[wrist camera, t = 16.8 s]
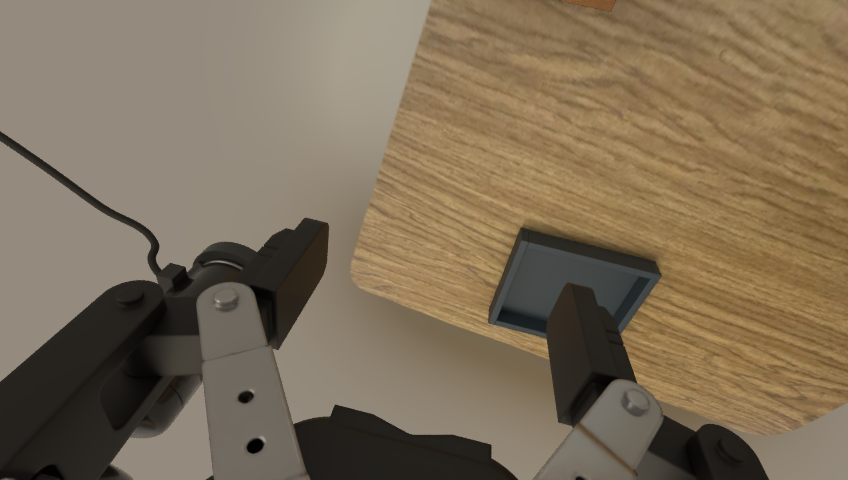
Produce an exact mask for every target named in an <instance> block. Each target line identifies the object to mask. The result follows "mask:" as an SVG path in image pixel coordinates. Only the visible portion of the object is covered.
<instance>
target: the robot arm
mask: <svg viewBox="0 0 848 480" xmlns="http://www.w3.org/2000/svg"><path fill="white" fill-rule="evenodd" d="M0 141H1V142H3V143H4V144H6V145H7V146H9V147H10V148H11V149H13V150H15V151H16V152H17V153H19V154H20V155H22V156H24V157H25V158H26V159H28V160H29V161H31V162H32V163H33V164H35V165H36V166H38V167H39V168H41V169H42V170H44V171H45V172H47V173H48V174H49V175H51V176H52V177H54V178H55V179H56V180H58V181H59V182H60V183H62V184H63V185H65V186H66V187H67V188H69V189H70V190H71V191H73V192H74V193H76V194H77V195H79V196H80V197H81V198H82V199H84V200H85V201H87V202H88V203H90V204H91V205H93V206H94V207H95V208H97V209H98V210H100V211H101V212H103V213H105V214H106V215H108V216H110V217H112V218H114V219H116V220H119V221H120V222H123V223H125V224H127V225H129V226H131V227H133V228H135V229H136V230H138V231H139V232H141V233H142V234H143V235H144V236H145V237H146V238H147V239H148V240H149V241H150V243H151V249H150V252H149V254H148V264H149V266H150V268H151V270H152V271H153V273H154V274H155V275H156V277H157V280H158V284H157V283H154V282H151V281H145V280H136V281H129V282H125V283H121V284H119V285H116V286H114V287H112V288H110V289H108V290H107V291H106V292H104V293H103V294H102V295H101V296H100V297H98V298H97V299H96V300H95V301H94V302H93V303H91V304H90V305H89V306H88V307H87V308H86V309H84V310H83V311H82V312H81V313H80V314H79V315H77V317H75V318H74V319H73V320H72V321H71V322H69V323H68V324H67V325H66V326H65V327H64V328H62V329H61V330H60V331H59V332H58V333H57V334H55V335H54V336H53V337H52V338H51V339H50V340H48V341H47V342H46V343H45V344H44V345H43V346H41V347H40V348H39V349H38V350H37V351H36V352H35V353H33V354H32V355H31V356H30V357H29V358H28V359H26V361H24V362H23V363H22V364H21V365H20V366H18V367H17V368H16V369H15V370H14V371H12V372H11V373H10V374H9V375H8V376H7V377H6V378H4V379H3V380H2V381H1V382H0V480H133V478H132V477H131V476H129V475H128V474H127V473H126V472H124V471H123V470H121V469H119V468H118V467H116V466H114V465H112V464H110V463H111V462H112V460H113V459H114V458H115V456H116V455H117V453H118V452H119V451H120V449H121V448H122V447H123V445H124V444H125V443H126V441H127V440H128V439H129V437H131V438H151V437H155V436H158V435H160V434H162V433H163V432H164V431H166V430H167V429H168V428H169V426H170V425H171V424H172V423H173V422H174V420H175V419H176V417H177V416H178V415H179V413H180V412H181V411H182V409H183V408H184V407H185V405H186V404H187V403H188V401H189V400H190V399H191V397H192V396H193V395H194V393H195V392H196V391H197V389H198V388H199V386H200V385H201V384H202V382H203V384H204V393H205V403H206V412H207V421H208V430H209V440H210V449H211V459H212V467H213V476H211V477H209V478H208V479H206V480H518V479H517V478H516V477H515V476H514V475H513V474H512V473H511V472H510V471H509V470H508V469H506V468H505V467H504V466H502V465H501V464H500V463H498V462H496V461H495V460H493V459H491V445H490V444H486V443H482V442H479V441H475V440H471V439H467V438H463V437H459V436H455V435H412V434H409V433H406V432H405V431H403V430H401V429H399V428H397V427H395V426H394V425H392V424H390V423H388V422H386V421H384V420H383V419H381V418H379V417H377V416H375V415H373V414H370V413H366V412H362V411H358V410H354V409H350V408H346V407H343V406H338V405H335V406H334V408H333V411H332V414H331V416H330V417H318V418H312V419H308V420H303V421H301V422H298V423H295V424H293V422H292V419H291V415H290V411H289V407H288V404H287V400H286V397H285V393H284V389H283V385H282V382H281V378H280V374H279V371H278V367H277V363H276V360H275V357H274V352H273V349H276V350H279V348H280V346H281V345H282V343H283V341H284V340H285V338H286V336H287V335H288V333H289V331H290V330H291V328H292V326H293V325H294V323H295V321H296V320H297V318H298V316H299V315H300V313H301V311H302V310H303V308H304V306H305V305H306V303H307V301H308V299H309V298H310V296H311V295H312V293H313V291H314V290H315V288H316V286H317V285H318V283H319V281H320V280H321V278H322V276H323V274H324V271H325V268H326V264H327V253H328V236H329V225H328V223H325V222H321V221H318V220H313V219H309V218H304V219H303V220H302V221H301V223H300V224H299V225H298V227H297V228H296V229H295V230H291V229H287V228H286V229H284V230H282V231H280V232H278V233H276V234H274V235H272V236H271V238H270V239H269V240H268V241H267V242H266V243H265V244H264V247H262V248H261V249H260V250H259V251H258V252H257V255H256V254H255V255H254V256H253V258H252V259H251V260H250V261H249V262H248V263H247V264H246V265H245V267H244V266H243V265H241V264H239V263H237V262H234V261H231V260H227V259H212V260H209V261H207V262H203V261H199V262H198V263H197V264H195V265H194V266H193V267H192V268H191V269H190V270H189V271H188V272H186V268H185V267H184V266H180V265H176V264H173V263H170V264H169V265H167V266H166V267H165V268H164V269H163V270H161V269H160V268H159V266H158V264H157V262H156V255H157V253H158V251H159V243H158V241H157V239H156V237H155V236H154V235H153V234H152V232H151V231H150V230H149V229H147V228H146V227H145V226H143V225H142V224H140V223H138V222H137V221H135V220H133V219H130V218H129V217H126V216H124V215H122V214H120V213H118V212H116V211H114V210H112V209H110V208H109V207H107V206H105V205H104V204H102V203H101V202H100V201H98V200H97V199H95V198H94V197H93V196H91V195H90V194H88V193H87V192H86V191H84V190H83V189H81V188H80V187H79V186H78V185H76V184H75V183H73V182H72V181H71V180H69V179H68V178H67V177H65V176H64V175H63V174H61V173H60V172H58V171H57V170H56V169H54V168H53V167H51V166H50V165H49V164H47V163H46V162H44V161H43V160H41V159H40V158H39V157H37V156H36V155H34V154H33V153H31V152H30V151H28V150H27V149H26V148H24V147H23V146H21V145H20V144H18V143H17V142H15V141H14V140H12V139H11V138H9V137H8V136H6V135H5V134H3V133H2V132H0ZM619 334H620V332H619V329H618V327H617V324H616V321H615V319H614V318H613V317H612V315H611V314H610V313H609V312H608V310H607V309H606V308H605V307H603V306H599V305H598V304H597V301H596V297H595V294H594V291H593V289H592V288H590V287H586V286H582V285H577V284H573V283H569V282H568V283H566V284H565V286H564V288H563V289H562V291H561V293H560V295H559V297H558V299H557V301H556V303H555V305H554V307H553V309H552V311H551V313H550V315H549V318H548V321H547V326H546V336H547V344H548V351H549V358H550V365H551V373H552V380H553V387H554V395H555V402H556V409H557V417H558V422H559V423H563V424H567V425H571V426H572V427H573V429H572V431H571V432H570V433H569V434H568V436H567V437H566V438H565V439H564V441H563V442H562V443H561V444H560V446H559V447H558V448H557V449H556V451H555V452H554V453H553V454H552V456H551V457H550V458H549V459H548V461H547V462H546V463H545V464H544V466H543V467H542V468H541V469H540V471H539V472H538V473H537V475H536V476H535V477H534V478H533V480H769V479H768V477H767V475H766V473H765V471H764V469H763V467H762V465H761V463H760V461H759V459H758V457H757V455H756V454H755V453H754V451H753V450H752V449H751V448H750V446H749V445H748V444H747V443H746V442H745V441H744V440H742V439H741V438H740V437H739V436H737V435H736V434H735V433H733V432H732V431H730V430H728V429H726V428H724V427H722V426H719V425H715V424H706V425H703V426H702V427H701V428H700V429H699V430H698V431H696V432H695V431H693V430H691V429H689V428H687V427H686V426H683V425H682V424H680V423H678V422H676V421H674V420H672V419H670V418H668V417H667V416H665V415H663V411H662V408H661V406H660V404H659V403H658V401H657V400H656V399H655V397H654V396H653V395H652V394H651V393H650V392H649V391H648V390H646V389H645V388H644V387H642V386H641V385H639V384H637V381H636V378H635V375H634V372H633V370H632V367H631V364H630V361H629V358H628V355H627V352H626V350H625V347H624V346H623V341H622V338H621V336H620V335H619Z"/></svg>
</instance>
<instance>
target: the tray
mask: <svg viewBox="0 0 848 480" xmlns="http://www.w3.org/2000/svg"><path fill="white" fill-rule="evenodd" d="M661 276H662V275H661V273H660V271H659V269H658V267H657V265H656V263H655V262H654V261H650V260H646V259H642V258H638V257H634V256H630V255H626V254H622V253H618V252H614V251H610V250H606V249H602V248H598V247H594V246H590V245H586V244H582V243H578V242H574V241H570V240H566V239H562V238H558V237H554V236H550V235H546V234H542V233H538V232H534V231H530V230H526V229H522V228H521V229H520V232H519V234H518V237H517V239H516V242H515V244H514V247H513V249H512V252H511V255H510V257H509V260H508V262H507V265H506V267H505V270H504V272H503V275H502V278H501V280H500V283H499V285H498V288H497V290H496V293H495V295H494V298H493V300H492V303H491V306H490V308H489V318H488V323H489V324H493V325H497V326H501V327H505V328H509V329H512V330H516V331H520V332H524V333H528V334H532V335H536V336H539V337H543V338H547V336H546V326H547V321H548V318H549V315H550V313H551V311H552V309H553V307H554V305H555V303H556V301H557V299H558V297H559V295H560V293H561V291H562V289H563V288H564V286H565V284H566V283H568V282H569V283H573V284H577V285H582V286H586V287H590V288H592V289H593V291H594V294H595V297H596V301H597V304H598V305H599V306H603V307H605V308H606V309H607V310H608V312H609V313H610V314H611V315H612V317H613V318H614V319H615V321H616V324H617V327H618V329H619V332H620V334H619V335H621V333H622V332H623V330H624V329H625V327H626V326H627V325H628V323H629V322H630V320H631V319H632V318H633V316H634V315H635V313H636V312H637V310H638V309H639V308H640V306H641V305H642V303H643V302H644V300H645V299H646V298H647V296H648V295H649V293H650V292H651V290H652V289H653V288H654V286H655V285H656V283H657V282H658V280H659V279H660V278H661Z"/></svg>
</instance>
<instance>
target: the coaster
mask: <svg viewBox="0 0 848 480" xmlns="http://www.w3.org/2000/svg"><path fill="white" fill-rule="evenodd" d="M561 1H565V2H570V3H574V4H578V5H583V6H587V7H592V8H596V9H600V10H605V11H609V12H611V11H612V8H613V6H614V3H615V1H616V0H561Z"/></svg>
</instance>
